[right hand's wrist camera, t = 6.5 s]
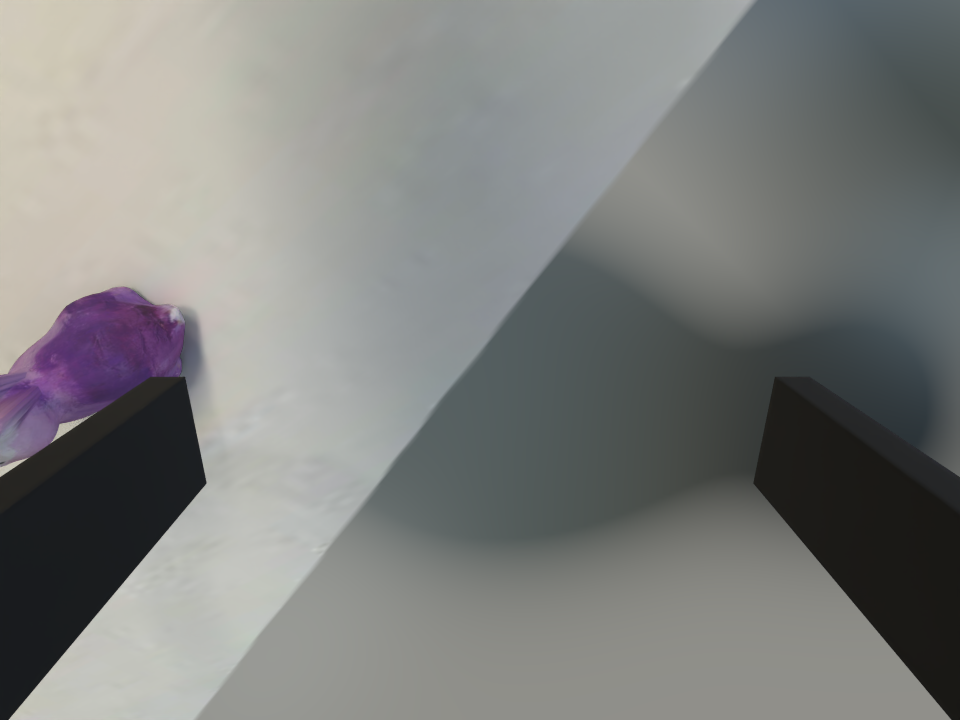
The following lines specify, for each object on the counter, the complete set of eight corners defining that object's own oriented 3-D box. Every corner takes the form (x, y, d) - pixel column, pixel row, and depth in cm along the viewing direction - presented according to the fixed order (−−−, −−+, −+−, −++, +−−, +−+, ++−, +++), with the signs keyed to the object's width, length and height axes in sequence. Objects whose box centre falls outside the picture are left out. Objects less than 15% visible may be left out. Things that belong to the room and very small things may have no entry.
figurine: (68, 397, 43) (-136, 515, 28) (64, 270, 39) (-170, 334, 25) (191, 422, 43) (52, 549, 29) (197, 299, 40) (44, 377, 26)
